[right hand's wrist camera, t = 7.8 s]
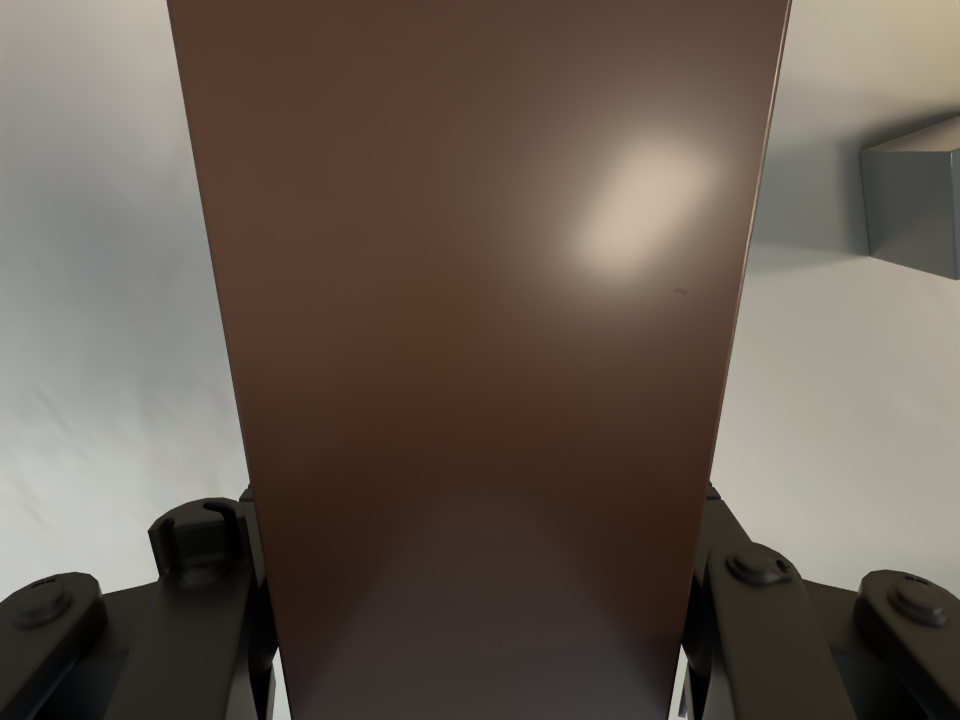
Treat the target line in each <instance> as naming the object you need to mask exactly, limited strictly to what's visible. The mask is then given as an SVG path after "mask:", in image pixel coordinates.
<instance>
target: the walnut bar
mask: <svg viewBox="0 0 960 720" xmlns="http://www.w3.org/2000/svg"><path fill="white" fill-rule="evenodd" d="M791 4H792V0H167V6H168V12H169V18H170V23H171V29H172V35H173V41H174V47H175V52H176V58H177V64H178V70H179V75H180V81H181V87H182V93H183V98H184V104H185V110H186V116H187V121H188V127H189V133H190V139H191V145H192V150H193V156H194V162H195V168H196V173H197V179H198V185H199V191H200V196H201V202H202V208H203V214H204V219H205V225H206V231H207V237H208V243H209V248H210V254H211V260H212V266H213V271H214V277H215V283H216V289H217V294H218V300H219V306H220V312H221V318H222V323H223V329H224V335H225V341H226V346H227V352H228V358H229V364H230V369H231V375H232V381H233V387H234V392H235V398H236V404H237V410H238V416H239V421H240V427H241V433H242V439H243V444H244V450H245V456H246V462H247V467H248V473H249V479H250V485H251V490H252V496H253V502H254V508H255V514H256V519H257V525H258V531H259V537H260V542H261V548H262V554H263V560H264V565H265V571H266V577H267V583H268V589H269V594H270V600H271V606H272V612H273V617H274V623H275V629H276V635H277V640H278V646H279V652H280V658H281V663H282V669H283V675H284V681H285V687H286V692H287V698H288V704H289V710H290V715H291V720H668V717H669V712H670V706H671V700H672V694H673V688H674V683H675V677H676V671H677V665H678V659H679V654H680V648H681V642H682V636H683V630H684V625H685V619H686V613H687V607H688V601H689V596H690V590H691V584H692V578H693V573H694V567H695V561H696V555H697V549H698V544H699V538H700V532H701V526H702V520H703V515H704V509H705V503H706V497H707V491H708V486H709V480H710V474H711V468H712V462H713V457H714V451H715V445H716V439H717V433H718V428H719V422H720V416H721V410H722V404H723V399H724V393H725V387H726V381H727V375H728V370H729V364H730V358H731V352H732V346H733V341H734V335H735V329H736V323H737V317H738V312H739V306H740V300H741V294H742V288H743V283H744V277H745V271H746V265H747V259H748V254H749V248H750V242H751V236H752V230H753V225H754V219H755V213H756V207H757V201H758V196H759V190H760V184H761V178H762V173H763V167H764V161H765V155H766V149H767V144H768V138H769V132H770V126H771V120H772V115H773V109H774V103H775V97H776V91H777V86H778V80H779V74H780V68H781V62H782V57H783V51H784V45H785V39H786V33H787V28H788V22H789V16H790V10H791Z"/></svg>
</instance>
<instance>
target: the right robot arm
mask: <svg viewBox="0 0 960 720" xmlns="http://www.w3.org/2000/svg"><path fill="white" fill-rule="evenodd" d="M148 534H149V538H150V542H151V546H152V550H153V553H154V557H155V561H156V565H157V569H158V572H159V579H158V581H156V582H153V583H150V584H146V585H142V586H138V587H134V588H129V589H125V590H120V591H116V592H111V593H107V594H102V592H101V589H100V586H99V583H98V581H97V580H96V579H95V578H94V577H93V576H91V575H90V574H86V573H79V572H71V573H63V574H56V575H53V576H50V577H46V578H43V579H40V580H38V581H35V582H33V583H31V584H29V585H27V586H25V587H23V588H21V589H19V590H18V591H16V592H14V593H12V594H11V595H10V596H8V597H7V598H6V599H5V600H3V601H2V602H1V603H0V720H272V718H273V708H274V697H275V687H276V681H275V674H274V668H273V663H272V661H273V658H274V656H275V653H276V651H277V648H278V640H277V635H276V629H275V623H274V617H273V612H272V606H271V600H270V594H269V589H268V583H267V577H266V571H265V565H264V560H263V554H262V548H261V542H260V537H259V531H258V525H257V519H256V514H255V508H254V502H253V496H252V490H251V485H250V484H249V485H248V489H245V491H244V492H243V494H242V495H241V497H240V498H239V502H237V501H236V500H231V499H227V498H223V497H221V498H204V499H200V500H196V501H191V502H188V503H185V504H183V505H181V506H178V507H176V508H174V509H171V510H170V511H168V512H167V513H165V514H164V515H163V516H161V517H160V518H158V519H157V520H156V521H155V522H154V523H153V525H152V526H151V527H150V529H149V530H148ZM681 644H682V646H683V649H684V651H685V654H686V656H687V659H688V663H687V668H686V674H685V679H684V684H683V690H682V695H681V701H680V707H679V713H678V716H679V717H684V718H685V716H686V711H687V717H688V720H960V600H959V599H958V598H957V597H955V596H954V595H953V594H951V593H950V592H949V591H947V590H946V589H944V588H942V587H940V586H938V585H936V584H934V583H932V582H930V581H928V580H926V579H924V578H921V577H919V576H915V575H912V574H909V573H906V572H900V571H892V570H879V571H872V572H870V573H868V574H867V575H866V576H865V577H864V578H862V581H861V584H860V587H859V591H858V592H855V591H850V590H846V589H841V588H837V587H832V586H828V585H823V584H819V583H815V582H811V581H808V580H804V579H802V578H801V575H800V574H799V572H798V571H797V570H796V568H795V567H794V565H793V564H792V563H791V562H790V561H789V560H787V559H786V558H785V557H784V556H782V555H781V554H780V553H779V552H776V551H774V550H772V549H770V548H768V547H766V546H764V545H762V544H758V543H755V542H752V541H751V540H750V538H749V537H748V535H747V534H746V532H745V531H744V529H743V528H742V527H741V525H740V524H739V522H738V521H737V519H736V518H735V516H734V515H733V514H732V512H731V511H730V509H729V508H728V506H727V505H726V504H725V502H724V501H723V500H721V496H720V495H719V493H718V492H717V491H716V489H715V488H714V487H712V483H711V482H710V480H709V486H708V491H707V497H706V503H705V509H704V515H703V520H702V526H701V532H700V538H699V544H698V549H697V555H696V561H695V567H694V573H693V578H692V584H691V590H690V596H689V601H688V607H687V613H686V619H685V625H684V630H683V636H682V642H681Z"/></svg>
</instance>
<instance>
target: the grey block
mask: <svg viewBox="0 0 960 720" xmlns="http://www.w3.org/2000/svg"><path fill="white" fill-rule="evenodd" d="M860 159H861V169H862V178H863V187H864V197H865V206H866V215H867V225H868V234H869V244H870V253H871V257H873V258H876V259H880V260H884V261H887V262H891V263H894V264H898V265H902V266H905V267H909V268H913V269H916V270H920V271H923V272H927V273H931V274H934V275H938V276H942V277H945V278H949V279H952V280H960V116H957V117H954V118H951V119H948V120H946V121H943V122H940V123H937V124H934V125H932V126H929V127H926V128H923V129H920V130H918V131H915V132H912V133H909V134H906V135H904V136H901V137H898V138H895V139H892V140H890V141H887V142H884V143H881V144H878V145H876V146H873V147H870V148H867V149H864V150H862V151H860Z"/></svg>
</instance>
